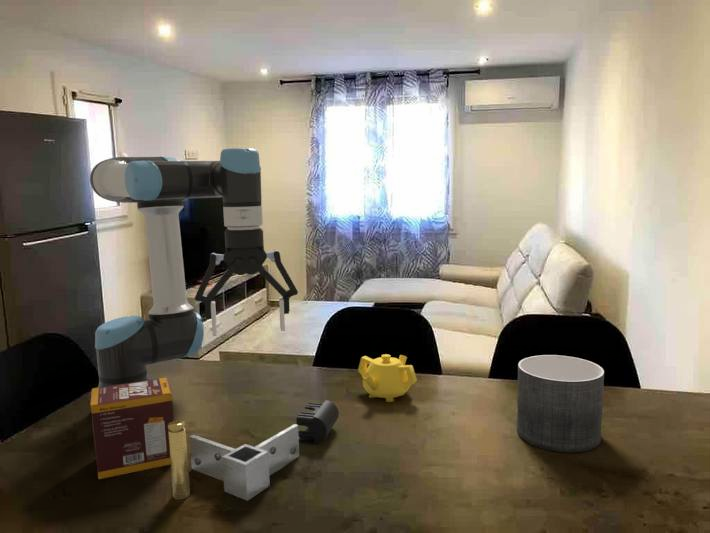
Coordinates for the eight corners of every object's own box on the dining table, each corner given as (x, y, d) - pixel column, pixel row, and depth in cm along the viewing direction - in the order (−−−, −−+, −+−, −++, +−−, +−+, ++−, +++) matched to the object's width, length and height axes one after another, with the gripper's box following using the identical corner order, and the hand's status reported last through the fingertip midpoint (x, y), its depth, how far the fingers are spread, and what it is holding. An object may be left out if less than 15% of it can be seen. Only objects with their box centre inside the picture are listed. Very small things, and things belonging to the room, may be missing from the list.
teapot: (379, 378, 165) (378, 341, 163) (433, 390, 154) (433, 351, 153) (337, 400, 149) (336, 359, 147) (395, 415, 138) (394, 371, 137)
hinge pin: (169, 496, 105) (164, 425, 103) (182, 488, 107) (177, 419, 105) (180, 501, 103) (175, 428, 101) (193, 493, 105) (188, 422, 103)
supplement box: (97, 457, 120) (91, 387, 118) (172, 442, 126) (167, 376, 124) (96, 480, 111) (89, 405, 109) (177, 463, 117) (172, 392, 115)
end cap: (327, 447, 123) (326, 418, 122) (296, 444, 124) (295, 415, 123) (339, 428, 132) (338, 400, 131) (310, 425, 134) (309, 398, 133)
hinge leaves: (181, 474, 112) (179, 441, 111) (246, 439, 127) (244, 409, 126) (247, 500, 103) (245, 464, 101) (308, 459, 117) (307, 427, 116)
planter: (613, 432, 126) (616, 365, 124) (582, 462, 114) (585, 388, 111) (537, 412, 139) (539, 350, 136) (502, 436, 126) (503, 369, 123)
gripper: (176, 231, 105) (183, 341, 109) (308, 226, 110) (312, 331, 114) (180, 228, 113) (187, 331, 116) (304, 224, 118) (307, 323, 121)
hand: (249, 331), depth 115 cm, fingers open, 13 cm apart
